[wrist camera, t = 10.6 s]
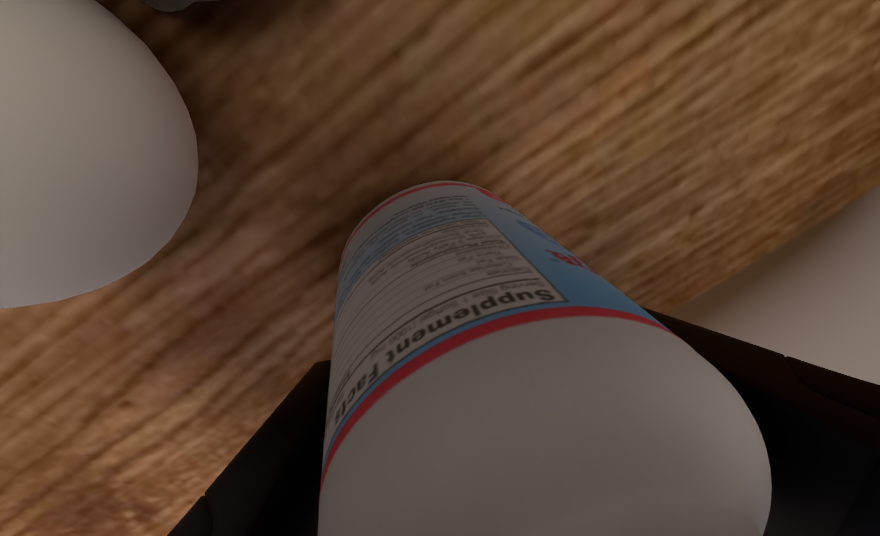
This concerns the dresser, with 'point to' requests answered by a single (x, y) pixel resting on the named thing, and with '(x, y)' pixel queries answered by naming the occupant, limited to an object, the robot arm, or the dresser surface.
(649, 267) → the dresser surface
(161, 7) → the sculpture
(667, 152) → the dresser surface
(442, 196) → the pill bottle
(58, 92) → the lightbulb
